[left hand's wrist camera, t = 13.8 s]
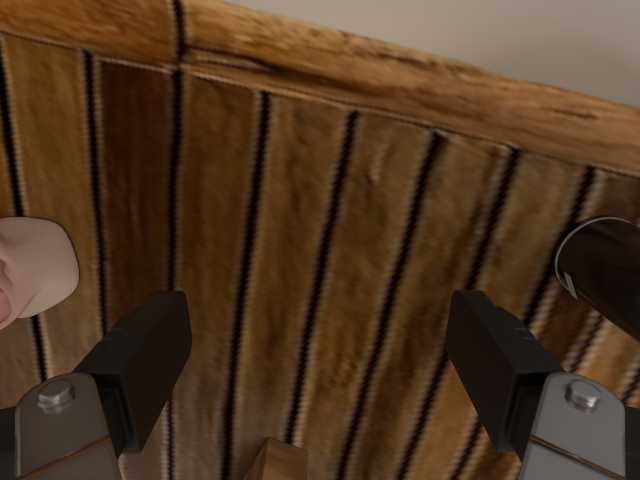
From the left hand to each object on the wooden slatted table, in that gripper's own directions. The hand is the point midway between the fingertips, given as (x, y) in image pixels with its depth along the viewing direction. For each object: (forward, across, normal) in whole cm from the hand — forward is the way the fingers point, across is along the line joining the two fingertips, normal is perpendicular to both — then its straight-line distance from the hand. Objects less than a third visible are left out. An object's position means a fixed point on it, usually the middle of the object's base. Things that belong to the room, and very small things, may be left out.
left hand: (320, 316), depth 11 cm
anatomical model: (+29, -34, -12) cm, 46 cm away
